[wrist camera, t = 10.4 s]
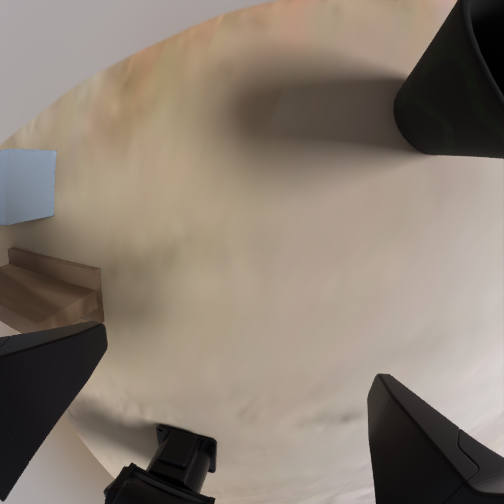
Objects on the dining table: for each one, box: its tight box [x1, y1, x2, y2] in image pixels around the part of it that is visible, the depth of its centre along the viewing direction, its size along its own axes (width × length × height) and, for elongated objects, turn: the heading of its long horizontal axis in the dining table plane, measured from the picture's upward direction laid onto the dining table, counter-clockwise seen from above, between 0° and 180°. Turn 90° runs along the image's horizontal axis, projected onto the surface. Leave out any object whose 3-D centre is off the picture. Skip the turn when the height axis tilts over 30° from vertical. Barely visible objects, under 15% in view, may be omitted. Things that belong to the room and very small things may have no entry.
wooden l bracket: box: [0, 248, 104, 334], centre depth 20 cm, size 5×14×8 cm, turn 84°
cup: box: [394, 0, 504, 159], centre depth 10 cm, size 8×8×12 cm
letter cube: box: [0, 149, 57, 226], centre depth 19 cm, size 6×6×6 cm
